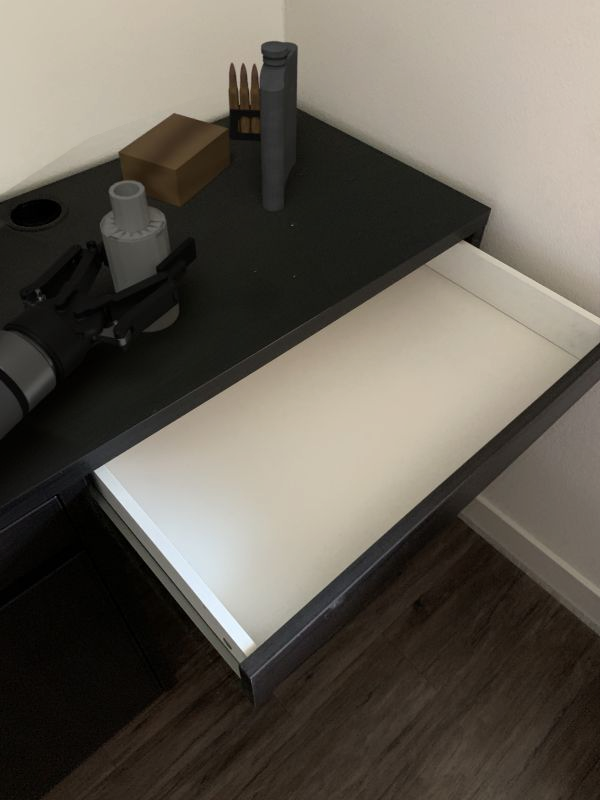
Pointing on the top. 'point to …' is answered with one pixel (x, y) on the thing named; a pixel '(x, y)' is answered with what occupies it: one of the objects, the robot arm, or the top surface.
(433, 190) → the top surface
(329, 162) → the top surface
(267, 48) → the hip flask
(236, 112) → the ammunition clip
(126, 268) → the bottle
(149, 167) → the plinth
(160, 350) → the top surface
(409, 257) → the top surface
